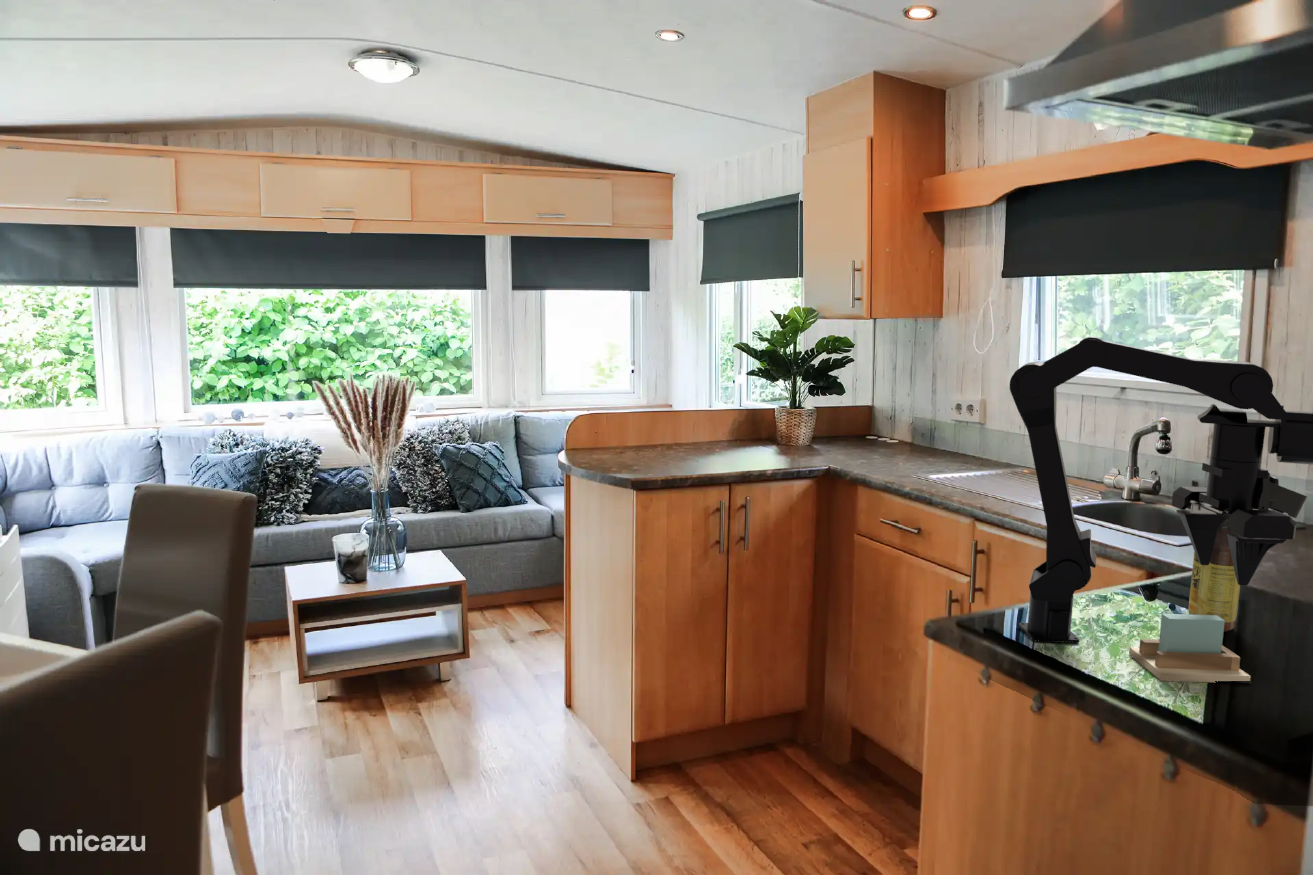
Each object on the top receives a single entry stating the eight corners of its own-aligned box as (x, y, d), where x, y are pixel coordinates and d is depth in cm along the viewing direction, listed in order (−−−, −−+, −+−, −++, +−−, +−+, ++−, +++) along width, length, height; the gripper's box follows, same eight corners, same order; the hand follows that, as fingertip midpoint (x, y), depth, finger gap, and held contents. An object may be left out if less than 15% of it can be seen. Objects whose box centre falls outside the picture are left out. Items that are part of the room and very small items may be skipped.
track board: (1128, 653, 128) (1130, 634, 127) (1211, 656, 127) (1213, 636, 127) (1161, 680, 119) (1163, 659, 119) (1249, 683, 119) (1252, 662, 118)
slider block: (1157, 656, 124) (1161, 613, 123) (1211, 658, 124) (1216, 615, 123) (1164, 662, 122) (1169, 618, 121) (1219, 664, 122) (1224, 620, 121)
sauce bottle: (1191, 616, 144) (1204, 489, 141) (1238, 625, 140) (1253, 495, 137) (1182, 627, 139) (1196, 496, 136) (1231, 637, 135) (1246, 502, 132)
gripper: (1348, 473, 112) (1332, 598, 115) (1256, 448, 131) (1244, 557, 133) (1253, 471, 113) (1239, 596, 115) (1175, 447, 131) (1164, 554, 134)
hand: (1222, 574), depth 124 cm, fingers open, 9 cm apart
